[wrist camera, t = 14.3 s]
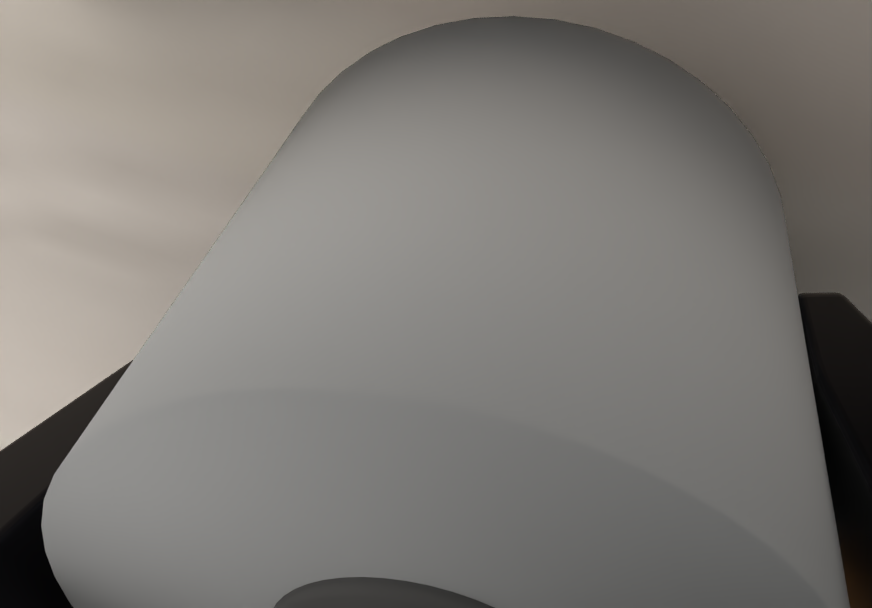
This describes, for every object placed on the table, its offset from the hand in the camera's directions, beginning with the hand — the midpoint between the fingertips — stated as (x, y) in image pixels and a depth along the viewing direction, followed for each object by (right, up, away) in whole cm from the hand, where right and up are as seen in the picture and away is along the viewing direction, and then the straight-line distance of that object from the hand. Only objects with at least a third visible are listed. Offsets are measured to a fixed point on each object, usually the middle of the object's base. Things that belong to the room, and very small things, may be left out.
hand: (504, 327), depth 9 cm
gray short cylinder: (0, +1, +1) cm, 1 cm away
